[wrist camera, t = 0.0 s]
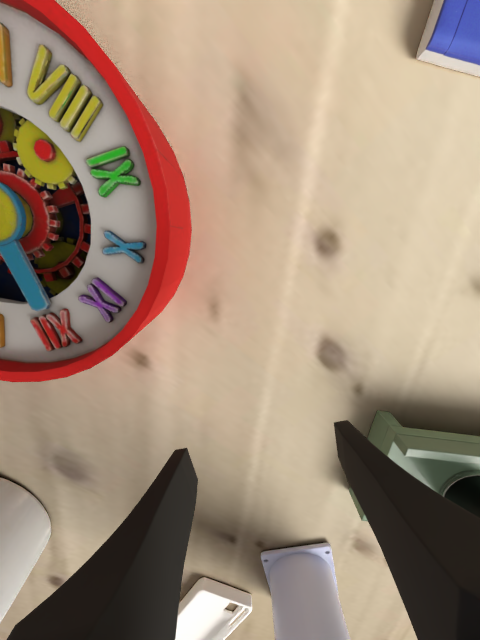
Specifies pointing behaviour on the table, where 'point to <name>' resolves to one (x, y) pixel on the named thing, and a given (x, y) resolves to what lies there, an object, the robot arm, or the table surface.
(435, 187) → the table surface
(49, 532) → the utensil holder
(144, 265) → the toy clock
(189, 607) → the phone case
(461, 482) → the cylinder
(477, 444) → the shelf
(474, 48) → the hard drive
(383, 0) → the table surface
